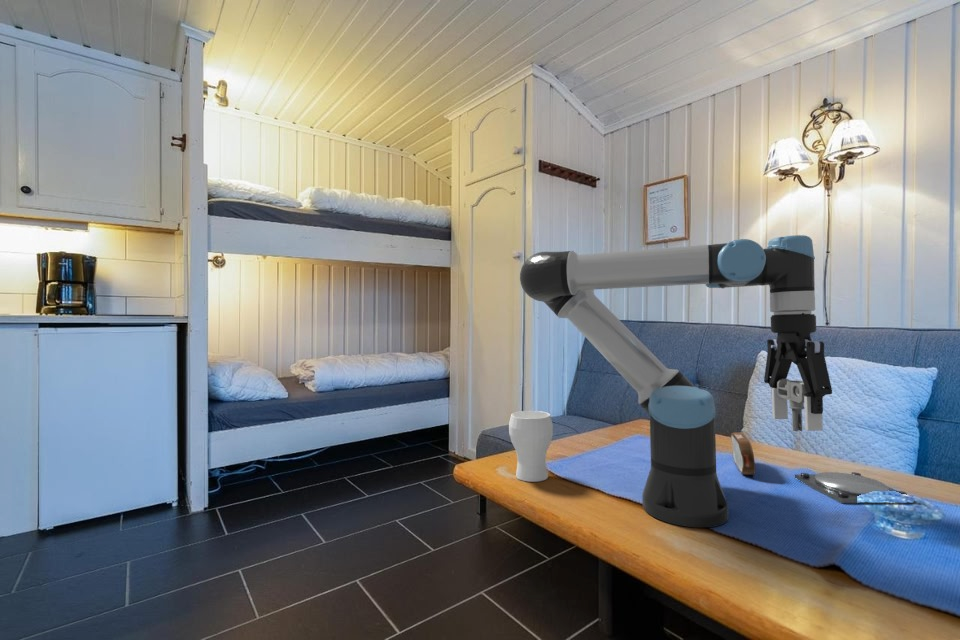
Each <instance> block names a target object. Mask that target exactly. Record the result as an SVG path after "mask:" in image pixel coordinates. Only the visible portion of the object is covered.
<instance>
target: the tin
mask: <svg viewBox="0 0 960 640" xmlns="http://www.w3.org/2000/svg"><path fill="white" fill-rule="evenodd" d="M730 440H731V447H732V450H731V451H732V452H731V453H732V457H733V461H734V462H733V463H734V464H735V463H736V464H735V466H736V465H737V466H736V467H738V468H737V470H738V471H739V470H740V471H739V473H740V472H741V473H740V475H742V474H743V475H744V476H752V477H753V476H755V475H756V461H755V456H754V450H753V446H752V443H751V441H750V439H749V438H748V437H747V436H746V434H745V433H744V432H743V431H741V432H740V431H739V432H738V431H737V432H732V433H730Z"/></svg>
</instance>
